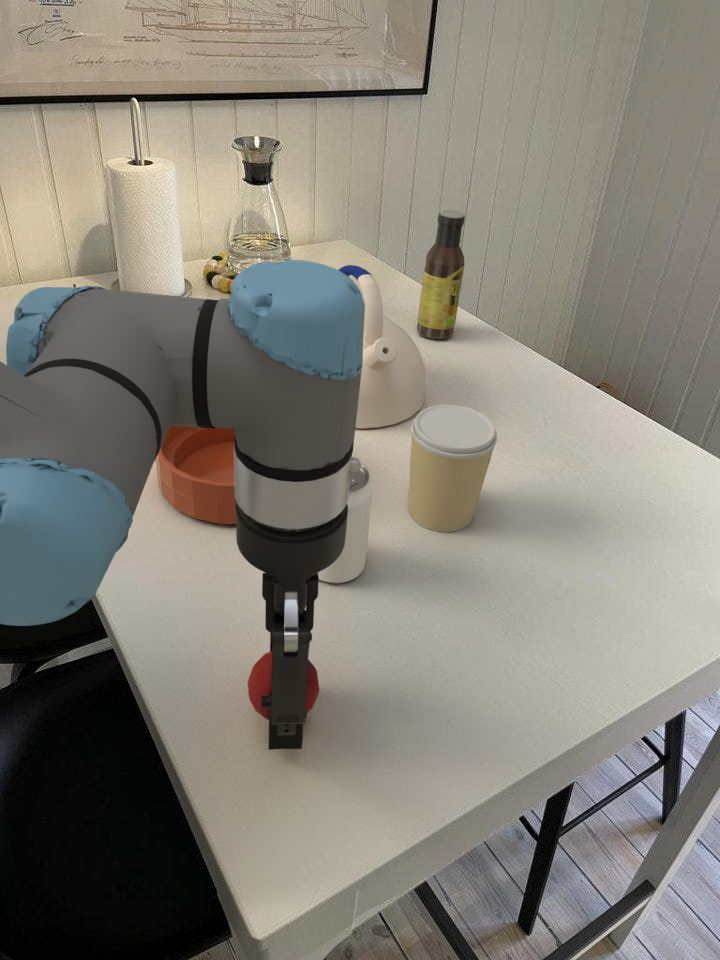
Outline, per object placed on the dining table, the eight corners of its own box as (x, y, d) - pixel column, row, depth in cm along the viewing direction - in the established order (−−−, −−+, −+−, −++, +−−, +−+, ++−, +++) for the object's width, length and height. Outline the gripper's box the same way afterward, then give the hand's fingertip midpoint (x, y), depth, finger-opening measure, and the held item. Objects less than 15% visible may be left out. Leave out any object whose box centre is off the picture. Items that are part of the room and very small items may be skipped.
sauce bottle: (451, 344, 124) (470, 223, 112) (413, 338, 125) (428, 217, 113) (455, 328, 129) (473, 210, 117) (419, 322, 130) (434, 205, 118)
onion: (312, 682, 67) (317, 621, 62) (320, 739, 63) (326, 678, 58) (246, 688, 66) (246, 626, 61) (250, 746, 61) (250, 684, 57)
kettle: (307, 440, 99) (312, 311, 88) (270, 365, 114) (270, 247, 103) (448, 421, 105) (468, 299, 94) (394, 352, 120) (407, 241, 109)
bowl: (149, 528, 83) (143, 485, 79) (169, 435, 97) (165, 395, 94) (315, 528, 85) (316, 485, 81) (310, 437, 99) (311, 398, 95)
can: (337, 536, 84) (343, 447, 77) (377, 567, 80) (387, 477, 73) (292, 560, 80) (293, 470, 73) (331, 595, 77) (337, 503, 69)
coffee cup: (496, 521, 88) (516, 436, 81) (432, 546, 83) (447, 458, 76) (447, 478, 94) (462, 395, 87) (385, 500, 90) (395, 414, 82)
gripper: (360, 602, 43) (335, 815, 57) (340, 423, 58) (324, 626, 72) (227, 603, 42) (234, 819, 56) (241, 421, 57) (244, 627, 71)
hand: (285, 710), depth 64 cm, fingers closed on onion, 6 cm apart
